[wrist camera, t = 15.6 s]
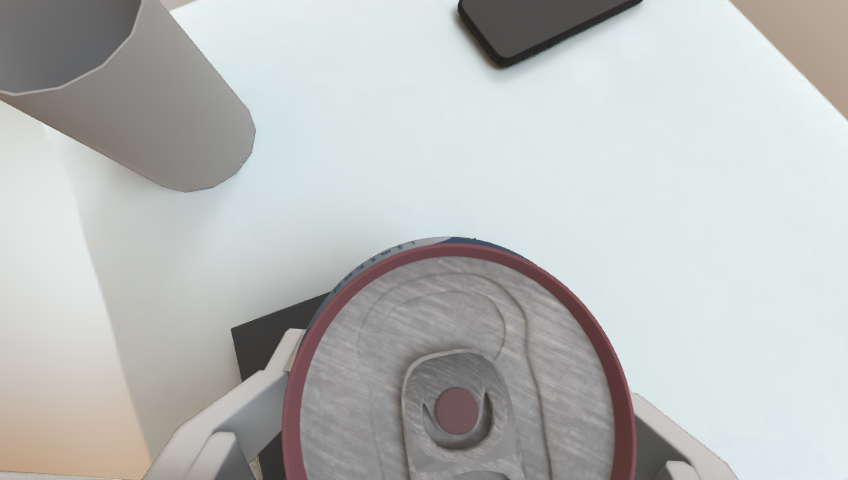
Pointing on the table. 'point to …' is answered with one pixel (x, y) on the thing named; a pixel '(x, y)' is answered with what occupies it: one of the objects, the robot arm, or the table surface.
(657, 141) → the table surface
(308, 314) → the scale
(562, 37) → the smartphone
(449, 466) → the soda can
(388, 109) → the table surface
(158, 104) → the cup
